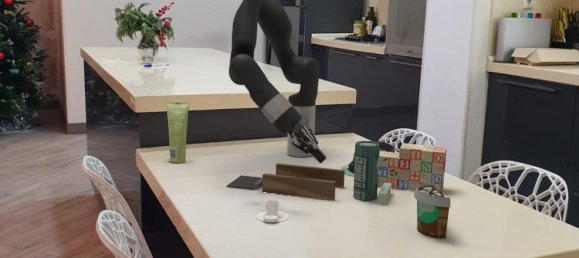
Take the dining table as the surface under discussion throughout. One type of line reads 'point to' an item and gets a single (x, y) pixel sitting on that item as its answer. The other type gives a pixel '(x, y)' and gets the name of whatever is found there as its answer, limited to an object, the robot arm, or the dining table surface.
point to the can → (366, 170)
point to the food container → (432, 211)
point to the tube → (177, 130)
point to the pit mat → (246, 183)
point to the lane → (304, 181)
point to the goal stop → (384, 193)
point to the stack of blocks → (412, 167)
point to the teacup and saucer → (271, 212)
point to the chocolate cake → (350, 168)
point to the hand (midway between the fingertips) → (323, 160)
